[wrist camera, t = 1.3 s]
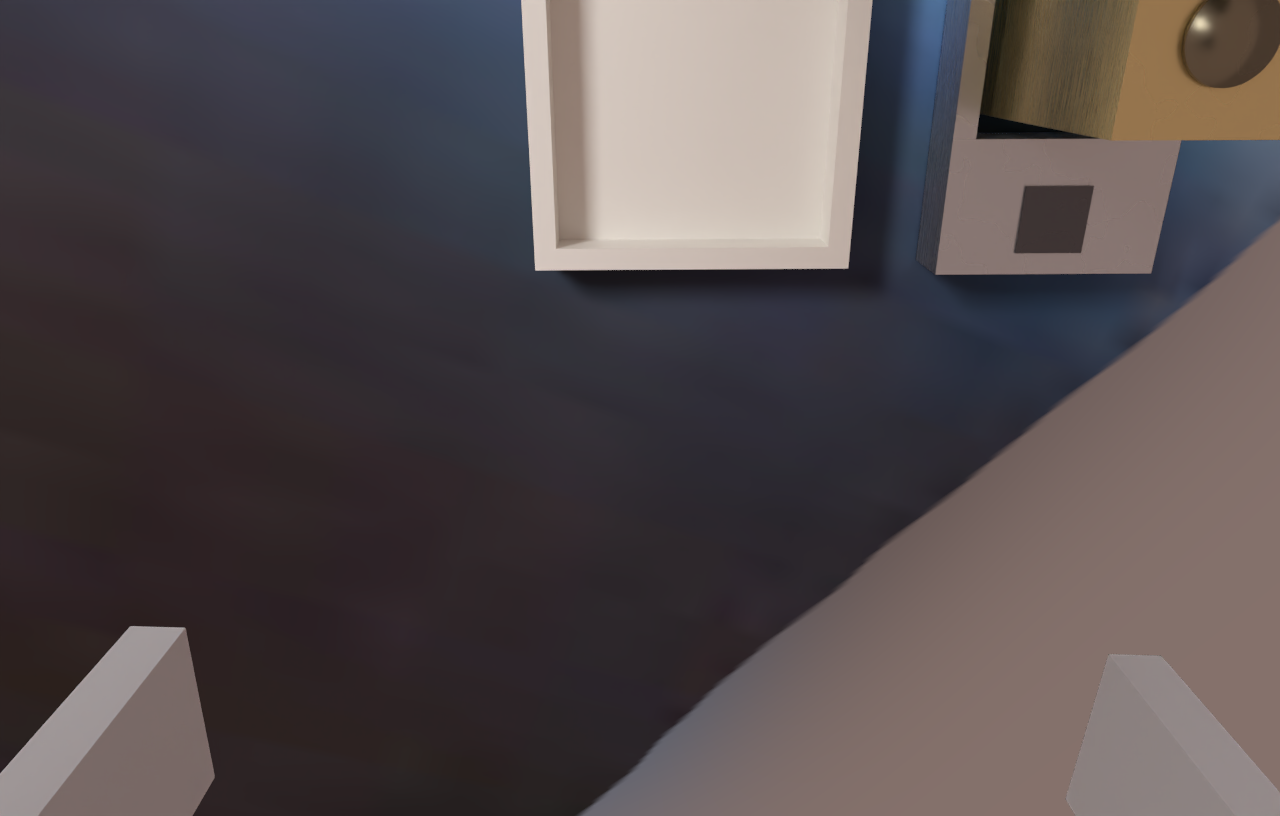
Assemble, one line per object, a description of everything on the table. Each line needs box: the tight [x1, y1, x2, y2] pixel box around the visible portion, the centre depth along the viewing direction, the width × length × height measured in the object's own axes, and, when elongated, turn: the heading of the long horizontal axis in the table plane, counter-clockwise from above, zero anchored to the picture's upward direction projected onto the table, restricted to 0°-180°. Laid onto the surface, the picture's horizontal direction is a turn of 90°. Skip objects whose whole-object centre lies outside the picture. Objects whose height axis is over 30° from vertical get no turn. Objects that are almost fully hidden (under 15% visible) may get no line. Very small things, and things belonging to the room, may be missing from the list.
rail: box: [916, 0, 1181, 275], centre depth 30 cm, size 16×8×2 cm, turn 0°
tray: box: [521, 0, 873, 270], centre depth 31 cm, size 12×12×2 cm
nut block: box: [980, 0, 1280, 141], centre depth 26 cm, size 5×5×10 cm
